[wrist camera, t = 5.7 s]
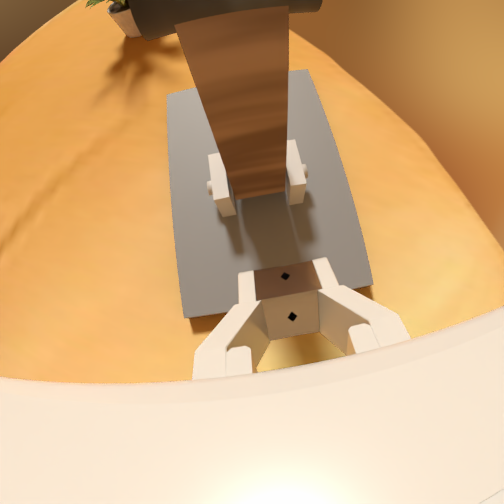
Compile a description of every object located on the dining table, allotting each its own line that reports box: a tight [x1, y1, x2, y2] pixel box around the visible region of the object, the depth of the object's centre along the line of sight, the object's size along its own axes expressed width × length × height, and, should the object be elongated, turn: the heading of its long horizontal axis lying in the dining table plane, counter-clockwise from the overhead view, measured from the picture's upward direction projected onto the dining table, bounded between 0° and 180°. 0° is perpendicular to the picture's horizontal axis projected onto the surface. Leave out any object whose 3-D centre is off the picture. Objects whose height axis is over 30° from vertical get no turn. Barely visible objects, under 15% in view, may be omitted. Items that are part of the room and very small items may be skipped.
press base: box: [167, 69, 373, 318], centre depth 26 cm, size 24×16×6 cm, turn 9°
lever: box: [128, 0, 322, 200], centre depth 16 cm, size 3×6×19 cm, turn 99°
